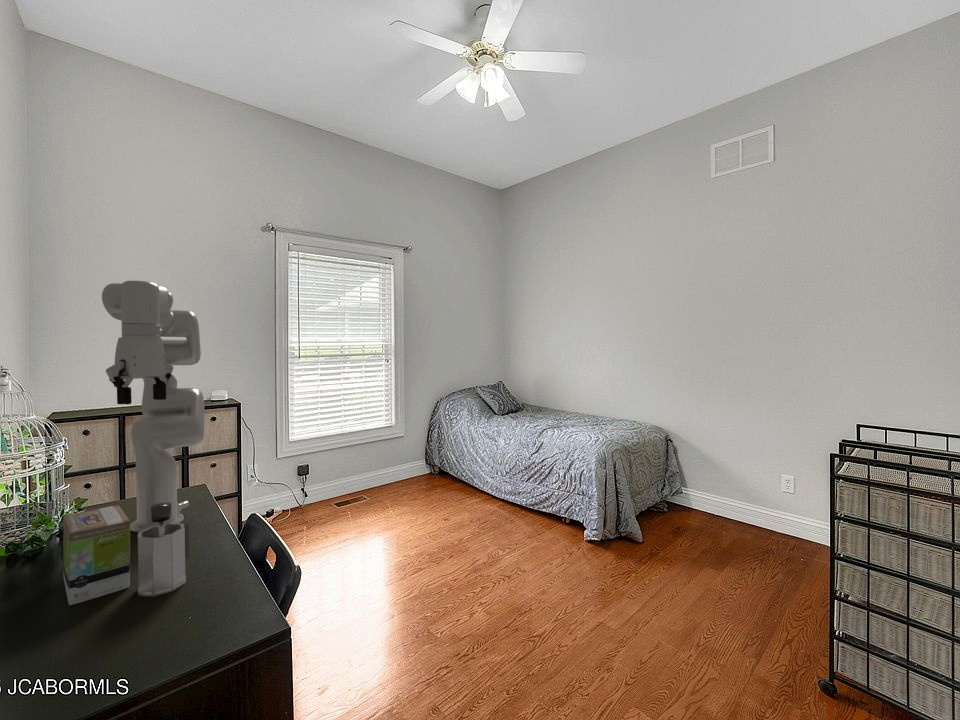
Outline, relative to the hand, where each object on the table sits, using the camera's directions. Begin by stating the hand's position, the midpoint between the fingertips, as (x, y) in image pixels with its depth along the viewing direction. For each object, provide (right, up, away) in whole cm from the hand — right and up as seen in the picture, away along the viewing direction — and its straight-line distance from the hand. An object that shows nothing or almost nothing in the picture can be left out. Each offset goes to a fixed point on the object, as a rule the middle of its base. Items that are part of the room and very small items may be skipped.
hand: (142, 401), depth 107 cm
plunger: (+14, -34, -13) cm, 39 cm away
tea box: (-1, -39, -12) cm, 41 cm away
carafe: (+15, -38, -12) cm, 43 cm away
